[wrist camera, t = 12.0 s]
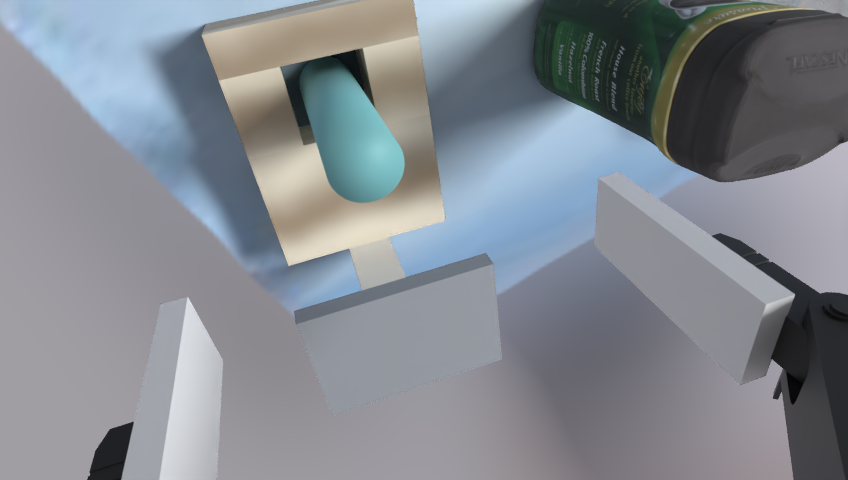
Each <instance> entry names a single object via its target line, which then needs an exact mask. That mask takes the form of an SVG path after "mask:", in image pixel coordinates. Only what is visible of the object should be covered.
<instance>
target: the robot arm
mask: <svg viewBox="0 0 848 480" xmlns="http://www.w3.org/2000/svg"><path fill="white" fill-rule="evenodd" d="M594 246H595V247H596V248H597V249H598V250H599V251H600V252H601V253H602V254H603V255H604V256H605V257H606V258H607V259H608V260H610V261H611V262H612V263H613V264H614V265H615V266H616V267H617V268H618V269H619V270H620V271H621V272H622V273H623V274H624V275H625V276H626V277H627V278H628V279H629V280H630V281H631V282H632V283H634V284H635V285H636V286H637V287H638V288H639V289H640V290H641V291H642V292H643V293H644V294H645V295H646V296H647V297H648V298H649V299H650V300H651V301H652V302H653V303H654V304H656V305H657V306H658V307H659V308H660V309H661V310H662V311H663V312H664V313H665V314H666V315H667V316H668V317H669V318H670V319H671V320H672V321H673V322H674V323H675V324H676V325H677V326H678V327H680V328H681V329H682V330H683V331H684V332H685V333H686V334H687V335H688V336H689V337H690V338H691V339H692V340H693V341H694V342H695V343H696V344H698V346H699V347H700V348H701V349H702V350H704V351H705V352H706V353H707V354H708V355H709V356H710V357H711V358H712V359H713V360H714V361H715V362H716V363H717V364H718V365H719V366H720V367H721V368H722V369H723V370H724V371H725V372H726V373H728V374H729V375H730V376H731V377H732V378H733V379H734V380H735V381H736V382H737V383H738V384H739V385H742V384H745V383H747V382H750V381H753V380H756V379H758V378H761V377H763V376H765V375H766V373H767V371H768V368H769V365H770V362H771V360H772V359H773V360H774V361H775V362H776V363H777V364H778V365H780V366H781V367H782V368H783V370H782V373H781V375H780V378H779V380H778V383H777V386H776V388H775V391H774V396H773V399H778V398H779V396H780V393H781V392H782V394H783V401H784V410H785V417H786V425H787V433H788V440H789V447H790V455H791V463H792V470H793V478H794V480H848V295H845V294H841V293H829V292H826V293H821V294H820V293H818V292H817V291H815V290H814V289H812V288H811V287H809V286H808V285H806V284H805V283H803V282H802V281H800V280H799V279H797V278H796V277H794V276H793V275H791V274H790V273H788V272H787V271H785V270H784V269H782V268H781V267H779V266H778V265H776V264H775V263H773V262H769V259H767V258H766V257H764V256H763V255H761V254H760V253H759V254H757V253H756V251H755V250H754V249H752V248H751V247H749V246H747V245H746V244H745V243H743V242H741V241H740V240H737V239H734V238H732V237H729V236H726V235H723V234H721V233H720V234H716V235H713V236H710V235H709V234H708V233H706V232H705V231H703V230H702V229H700V228H699V227H697V226H696V225H695V224H693V223H692V222H690V221H689V220H687V219H686V218H684V217H683V216H682V215H680V214H679V213H677V212H676V211H674V210H673V209H672V208H670V207H669V206H667V205H666V204H664V203H663V202H662V201H660V200H659V199H657V198H656V197H654V196H653V195H651V194H650V193H649V192H647V191H646V190H644V189H643V188H641V187H640V186H639V185H637V184H636V183H634V182H633V181H631V180H630V179H628V178H627V177H626V176H624V175H623V174H621V173H620V172H618V173H614V174H611V175H607V176H604V177H601V178H598V193H597V210H596V227H595V244H594ZM222 373H223V360H222V358H221V357H220V354H219V353H218V351H217V349H216V347H215V345H214V344H213V342H212V340H211V338H210V336H209V334H208V333H207V331H206V329H205V327H204V325H203V323H202V322H201V320H200V318H199V316H198V314H197V313H196V311H195V309H194V307H193V305H192V303H191V302H190V300H189V298H188V296H187V297H183V298H180V299H176V300H173V301H169V302H166V303H163V304H160V307H159V312H158V316H157V321H156V325H155V330H154V334H153V339H152V343H151V348H150V352H149V357H148V361H147V366H146V371H145V375H144V379H143V384H142V388H141V393H140V398H139V402H138V406H137V411H136V416H135V420H134V422H131V423H128V424H125V425H122V426H119V427H116V428H112V429H110V430H109V431H108V433H107V435H106V436H105V438H104V439H103V441H102V442H101V443H100V445H99V446H98V448H97V449H96V451H95V455H94V458H93V462H92V465H91V469H90V476H89V477H88V479H87V480H217V468H218V448H219V430H220V411H221V392H222Z"/></svg>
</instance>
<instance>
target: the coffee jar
mask: <svg viewBox="0 0 848 480" xmlns="http://www.w3.org/2000/svg"><path fill="white" fill-rule="evenodd" d="M534 67H535V73H536V76H537V78H538V80H539V82H540V83H541V84H542V85H543V86H544V87H545V88H546V89H548V90H549V91H551V92H553V93H555V94H557V95H559V96H561V97H562V98H564V99H566V100H568V101H571V102H573V103H575V104H577V105H579V106H581V107H583V108H586V109H588V110H590V111H592V112H594V113H596V114H598V115H600V116H602V117H604V118H606V119H608V120H610V121H612V122H614V123H616V124H618V125H620V126H622V127H624V128H626V129H628V130H630V131H631V132H633V133H635V134H637V135H639V136H641V137H643V138H645V139H646V140H648V141H650V142H651V143H653V144H654V145H655V146H657V147H658V149H659V150H660V151H661V152H662V153H663V154H664V155H665V156H666V157H667V158H668V159H669V160H671V161H672V162H674V163H675V164H678V165H680V166H682V167H684V168H687V169H689V170H691V171H694V172H696V173H699V174H701V175H703V176H705V177H707V178H709V179H712V180H715V181H718V182H734V181H740V180H747V179H753V178H758V177H763V176H767V175H772V174H775V173H779V172H783V171H787V170H792V169H795V168H798V167H800V166H803V165H805V164H808V163H810V162H812V161H813V160H815V159H817V158H819V157H821V156H823V155H824V154H826V153H827V152H829V151H830V150H832V149H833V148H835V147H836V146H838V145H839V144H841V143H844V142H847V141H848V17H845V16H842V15H841V14H839V13H830V12H826V11H823V10H815V9H808V8H800V7H792V6H785V5H778V4H770V3H763V2H756V1H750V0H547V1H546V3H545V4H544V6H543V8H542V10H541V12H540V15H539V18H538V22H537V27H536V31H535V41H534Z"/></svg>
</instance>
